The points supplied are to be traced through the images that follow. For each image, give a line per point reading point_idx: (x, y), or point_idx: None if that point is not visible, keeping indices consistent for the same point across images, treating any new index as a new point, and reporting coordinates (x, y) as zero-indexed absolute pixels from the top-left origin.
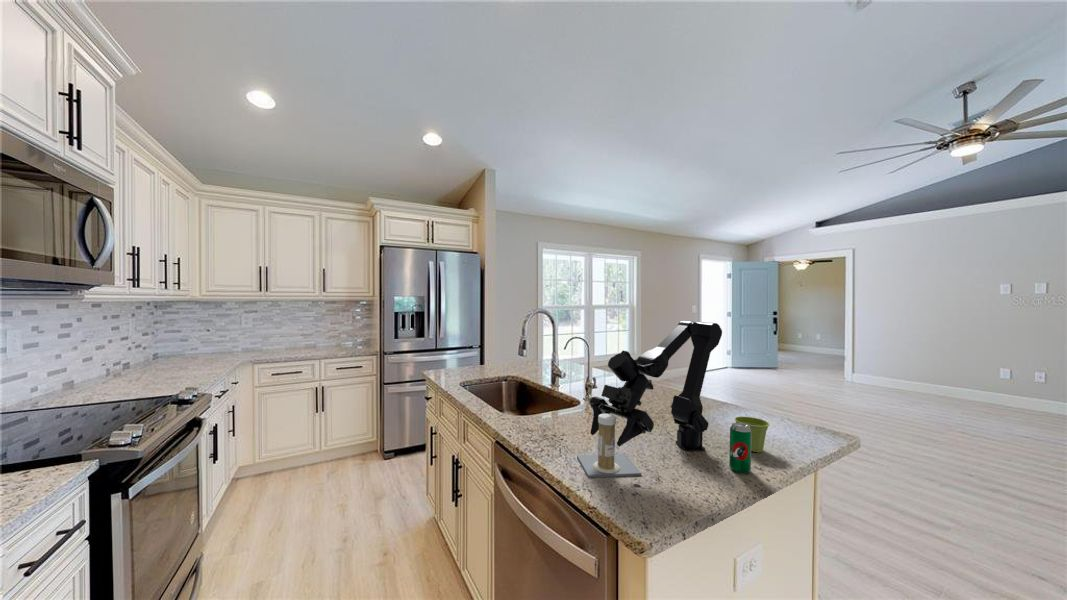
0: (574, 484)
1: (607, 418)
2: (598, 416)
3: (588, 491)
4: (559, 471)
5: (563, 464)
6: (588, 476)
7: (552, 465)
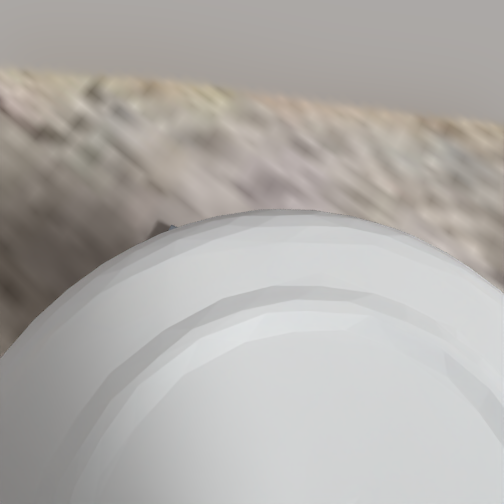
0: (152, 114)
1: (52, 329)
2: (466, 270)
3: (44, 123)
4: (321, 142)
5: (388, 216)
6: (171, 228)
7: (401, 156)
